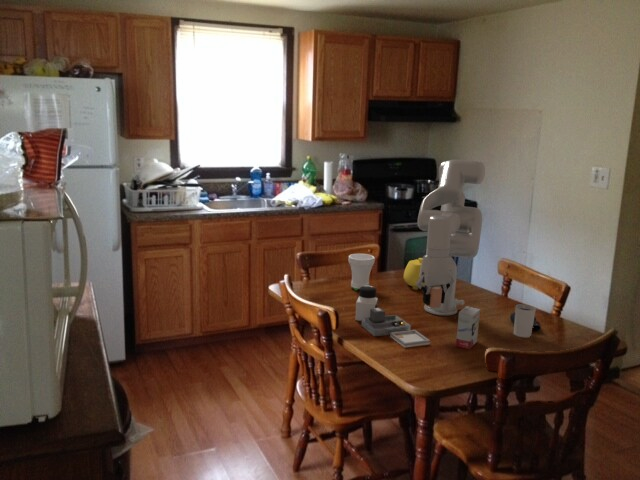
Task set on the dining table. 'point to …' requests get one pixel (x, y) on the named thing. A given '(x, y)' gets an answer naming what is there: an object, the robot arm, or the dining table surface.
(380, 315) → the toggle
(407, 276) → the teapot
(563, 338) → the dining table surface
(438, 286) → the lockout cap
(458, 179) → the robot arm
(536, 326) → the electronic device
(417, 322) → the dining table surface
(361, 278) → the cup
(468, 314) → the ink box
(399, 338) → the pad
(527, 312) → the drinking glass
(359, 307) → the medicine bottle
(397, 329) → the breaker panel
